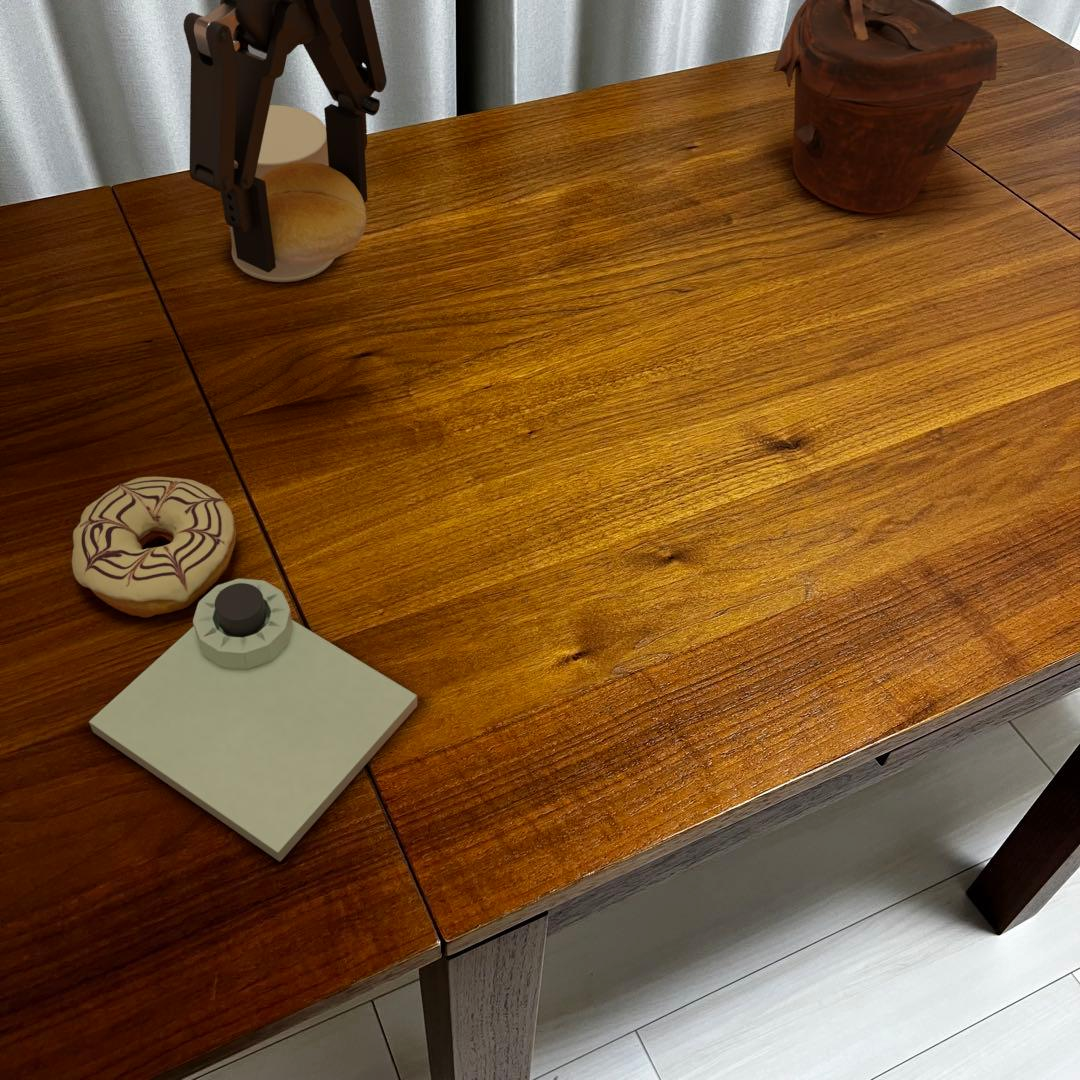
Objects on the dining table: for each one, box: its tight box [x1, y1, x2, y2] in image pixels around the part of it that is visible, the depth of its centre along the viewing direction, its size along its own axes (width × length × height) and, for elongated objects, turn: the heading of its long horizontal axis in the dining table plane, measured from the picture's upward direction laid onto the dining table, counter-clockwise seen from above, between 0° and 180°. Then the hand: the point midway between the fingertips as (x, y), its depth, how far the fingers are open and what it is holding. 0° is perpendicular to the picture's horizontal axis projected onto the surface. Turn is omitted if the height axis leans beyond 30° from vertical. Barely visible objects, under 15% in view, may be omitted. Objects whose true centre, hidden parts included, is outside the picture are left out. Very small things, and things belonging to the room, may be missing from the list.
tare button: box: [215, 583, 266, 637], centre depth 75 cm, size 3×3×2 cm
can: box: [229, 104, 336, 283], centre depth 102 cm, size 9×9×12 cm
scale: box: [88, 577, 418, 863], centre depth 73 cm, size 15×13×3 cm
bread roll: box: [259, 162, 367, 266], centre depth 81 cm, size 8×9×4 cm
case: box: [773, 0, 998, 214], centre depth 113 cm, size 18×20×18 cm
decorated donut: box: [71, 475, 237, 619], centre depth 81 cm, size 10×11×4 cm
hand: (304, 228), depth 82 cm, fingers closed on bread roll, 9 cm apart
